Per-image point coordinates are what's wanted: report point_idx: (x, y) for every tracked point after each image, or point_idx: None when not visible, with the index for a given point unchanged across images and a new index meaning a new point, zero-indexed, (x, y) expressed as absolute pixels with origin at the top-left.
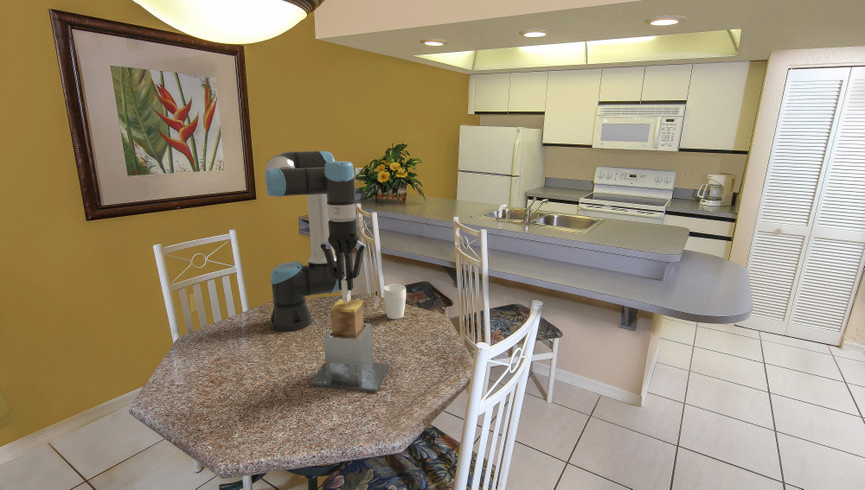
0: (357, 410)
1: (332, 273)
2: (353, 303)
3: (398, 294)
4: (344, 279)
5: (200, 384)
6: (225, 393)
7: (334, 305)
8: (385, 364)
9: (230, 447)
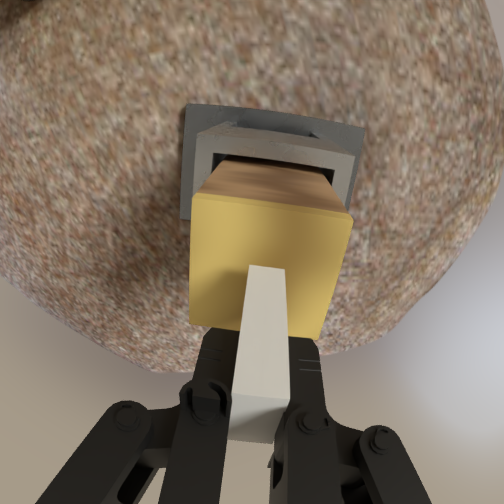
0: None
1: (134, 470)
2: (301, 268)
3: None
4: (249, 430)
5: (12, 220)
6: (54, 243)
7: (195, 294)
8: (354, 129)
9: (145, 352)
